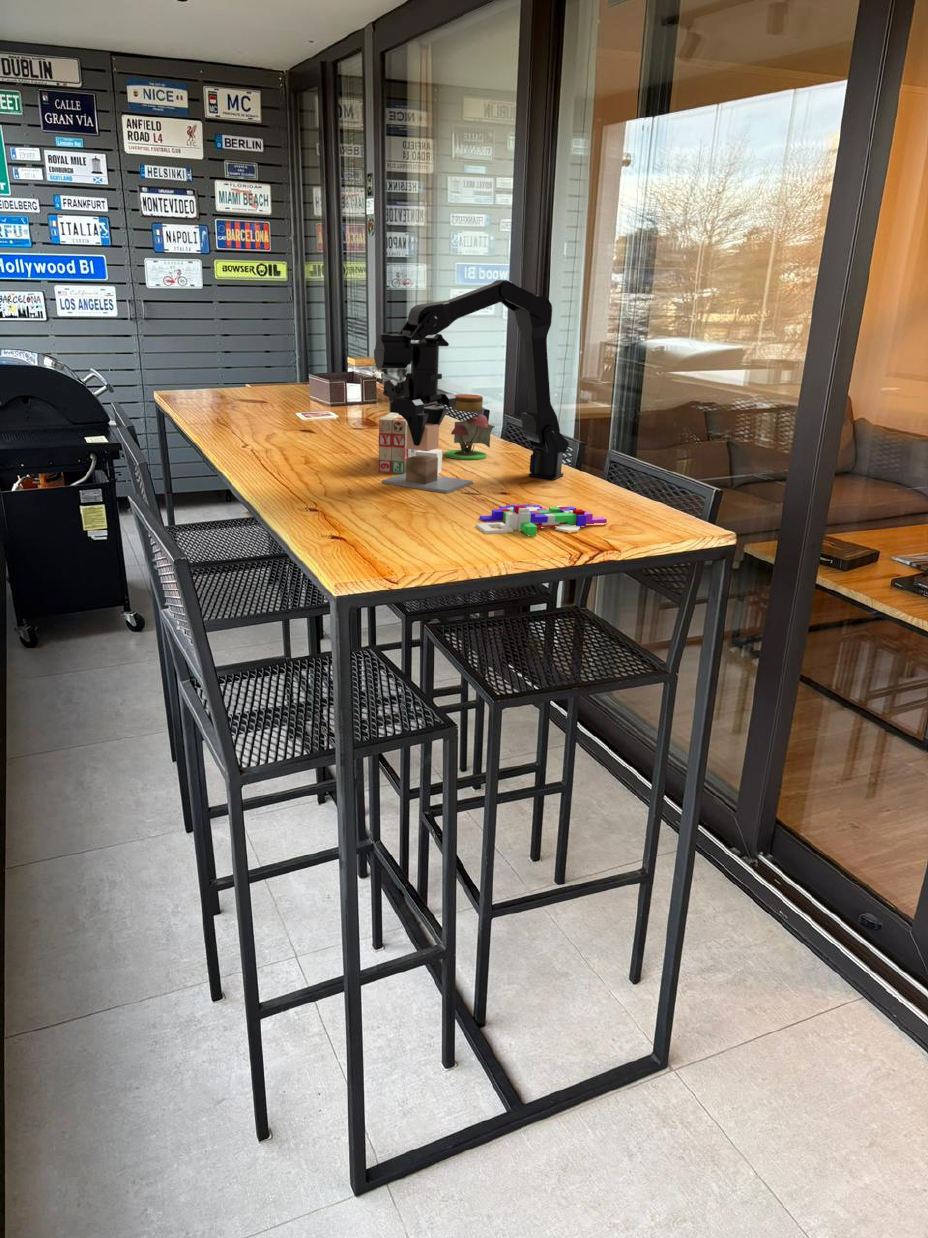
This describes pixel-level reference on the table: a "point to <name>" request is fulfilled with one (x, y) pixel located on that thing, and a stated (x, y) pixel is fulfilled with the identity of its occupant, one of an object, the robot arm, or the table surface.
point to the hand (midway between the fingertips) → (422, 443)
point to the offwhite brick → (433, 454)
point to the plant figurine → (470, 428)
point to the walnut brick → (421, 469)
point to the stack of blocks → (393, 444)
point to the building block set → (537, 519)
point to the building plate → (439, 486)
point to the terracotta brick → (425, 438)
